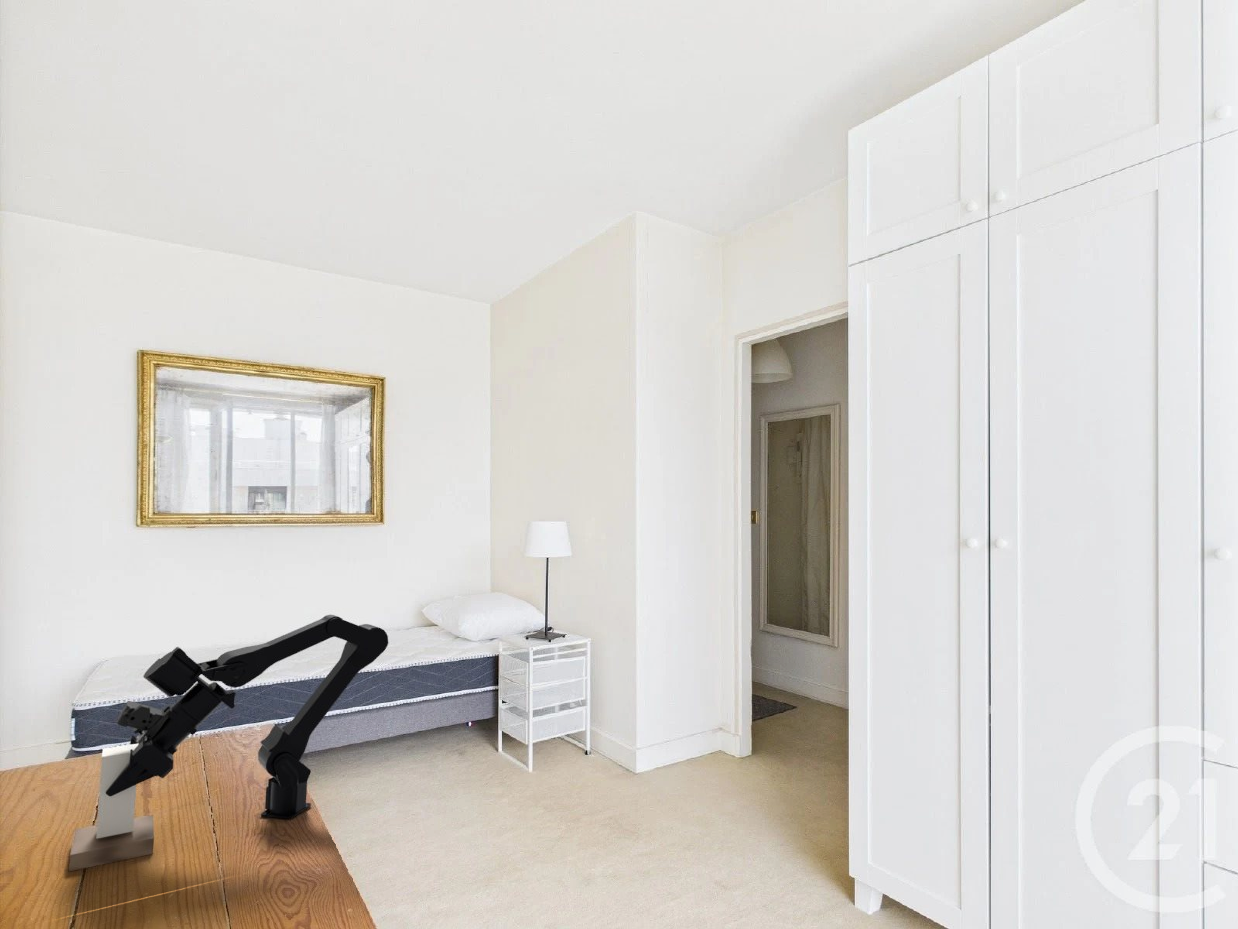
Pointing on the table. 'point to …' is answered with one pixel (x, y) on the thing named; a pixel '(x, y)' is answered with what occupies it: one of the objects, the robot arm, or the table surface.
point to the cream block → (121, 806)
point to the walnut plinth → (111, 845)
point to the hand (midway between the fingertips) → (108, 789)
